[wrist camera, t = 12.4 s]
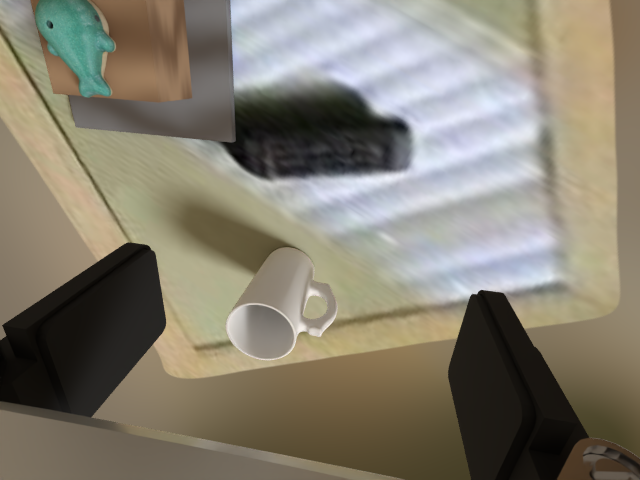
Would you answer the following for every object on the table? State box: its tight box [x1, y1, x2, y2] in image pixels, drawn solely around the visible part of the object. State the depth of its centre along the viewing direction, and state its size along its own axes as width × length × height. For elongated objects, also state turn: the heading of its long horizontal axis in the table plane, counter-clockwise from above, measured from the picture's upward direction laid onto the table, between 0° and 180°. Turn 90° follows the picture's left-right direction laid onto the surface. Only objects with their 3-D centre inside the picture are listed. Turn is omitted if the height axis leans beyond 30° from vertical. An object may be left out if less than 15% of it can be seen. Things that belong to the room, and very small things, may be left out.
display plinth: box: [31, 0, 236, 142], centre depth 31 cm, size 18×18×7 cm
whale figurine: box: [35, 0, 116, 98], centre depth 27 cm, size 6×7×4 cm
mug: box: [226, 247, 337, 360], centre depth 38 cm, size 10×7×12 cm, turn 86°
